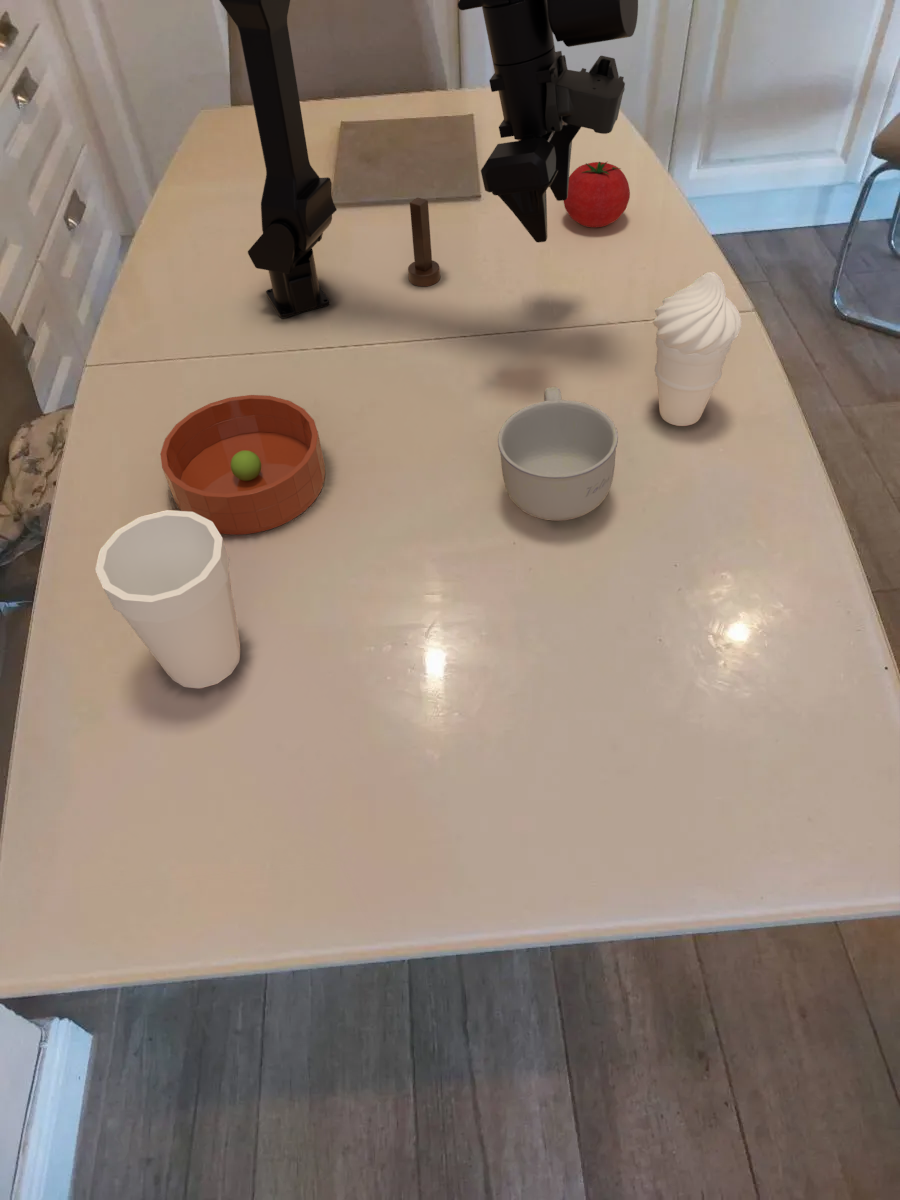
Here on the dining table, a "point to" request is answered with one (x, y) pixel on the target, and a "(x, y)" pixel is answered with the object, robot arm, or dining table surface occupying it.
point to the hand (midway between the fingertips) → (552, 220)
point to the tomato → (597, 194)
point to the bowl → (245, 424)
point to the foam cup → (175, 593)
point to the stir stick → (422, 246)
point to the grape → (245, 465)
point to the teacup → (558, 457)
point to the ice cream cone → (693, 347)
